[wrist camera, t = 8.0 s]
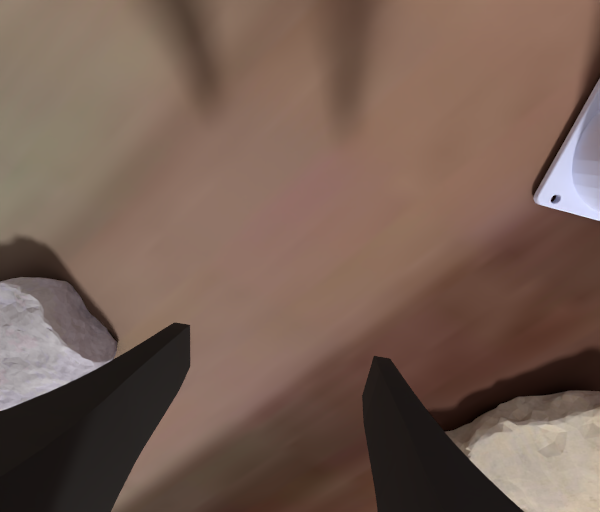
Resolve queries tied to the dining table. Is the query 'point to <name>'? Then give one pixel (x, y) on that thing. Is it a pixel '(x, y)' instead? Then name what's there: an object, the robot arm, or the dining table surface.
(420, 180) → the dining table surface
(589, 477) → the cream rock
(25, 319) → the stone block
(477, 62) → the dining table surface
